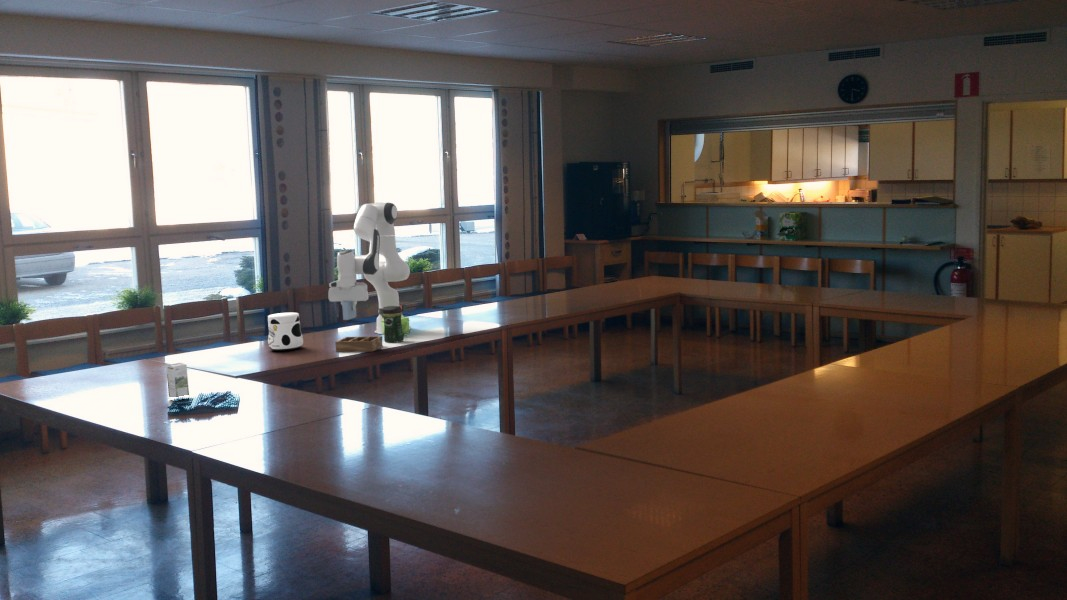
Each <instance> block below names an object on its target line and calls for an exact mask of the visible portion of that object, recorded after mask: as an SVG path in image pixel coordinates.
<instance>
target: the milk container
mask: <svg viewBox="0 0 1067 600" xmlns="http://www.w3.org/2000/svg"><path fill="white" fill-rule="evenodd" d="M267 325H268V326H267V327H268V337H267V343H268V348H269V349H270V350H272V351H275V352H276V351H277V352H284V351H285V352H286V351H287V350H288V351H294V350H298V349H300V348H301V347H303V344H304V337H303V334H302V331H301V322H300V313H299V312H280V313H279V312H278V313H273V314H269V315H267Z"/></svg>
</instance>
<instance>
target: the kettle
mask: <svg viewBox="0 0 1067 600" xmlns="http://www.w3.org/2000/svg"><path fill="white" fill-rule="evenodd" d="M382 322H383V334H382V335H384V319H383V321H382ZM410 322H411V321H410V318H409V317H406V316H404V317H401V324H402V331H403V337H406V336H407V335H406V334H409V333H410V332H411V331H410V330H411V328H410V329H409V326H410Z"/></svg>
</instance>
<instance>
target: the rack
mask: <svg viewBox="0 0 1067 600" xmlns="http://www.w3.org/2000/svg"><path fill="white" fill-rule="evenodd" d="M334 344H335V352H336V353H346V352H347V353H348V352H349V353H353V352H355V353H357V352H358V353H360V352H361V353H362V352H363V353H365V352H370V353H371V352H374V351H376V350H378V349H380V348H382V347H383V336H381V335H380V336H379V335H378V336H345V337H343V338H341V339H339V340H336V341H335V342H334Z"/></svg>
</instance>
